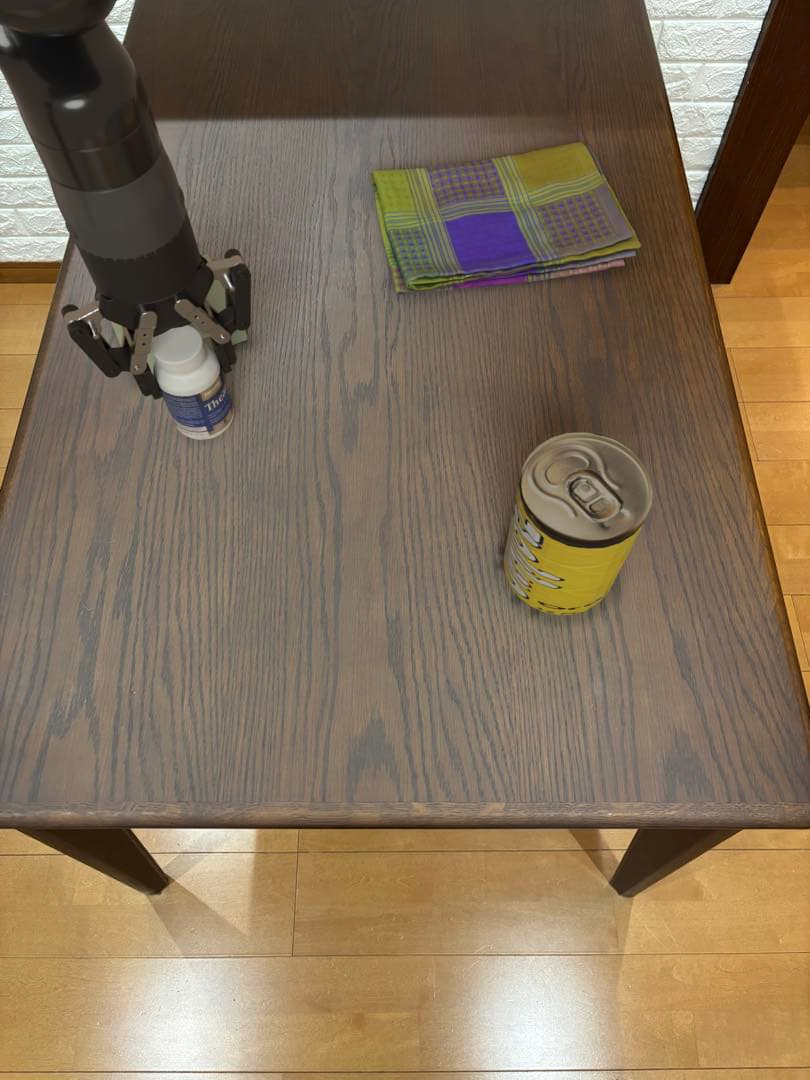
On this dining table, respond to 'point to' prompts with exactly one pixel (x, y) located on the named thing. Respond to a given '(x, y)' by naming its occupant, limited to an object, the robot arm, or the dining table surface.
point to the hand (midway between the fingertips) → (189, 377)
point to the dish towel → (500, 220)
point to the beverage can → (574, 521)
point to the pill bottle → (192, 383)
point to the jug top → (215, 300)
